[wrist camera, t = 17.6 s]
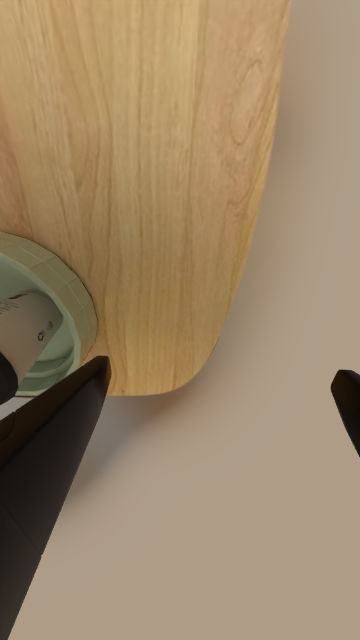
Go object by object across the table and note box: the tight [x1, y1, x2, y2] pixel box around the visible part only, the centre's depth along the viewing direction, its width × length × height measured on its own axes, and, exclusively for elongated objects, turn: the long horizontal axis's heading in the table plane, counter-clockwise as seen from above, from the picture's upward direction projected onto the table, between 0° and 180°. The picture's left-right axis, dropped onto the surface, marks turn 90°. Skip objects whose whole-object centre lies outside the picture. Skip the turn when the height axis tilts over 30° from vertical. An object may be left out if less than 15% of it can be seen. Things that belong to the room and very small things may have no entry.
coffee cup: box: [0, 290, 63, 405], centre depth 18 cm, size 7×7×10 cm
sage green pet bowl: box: [0, 232, 98, 396], centre depth 22 cm, size 15×15×4 cm
